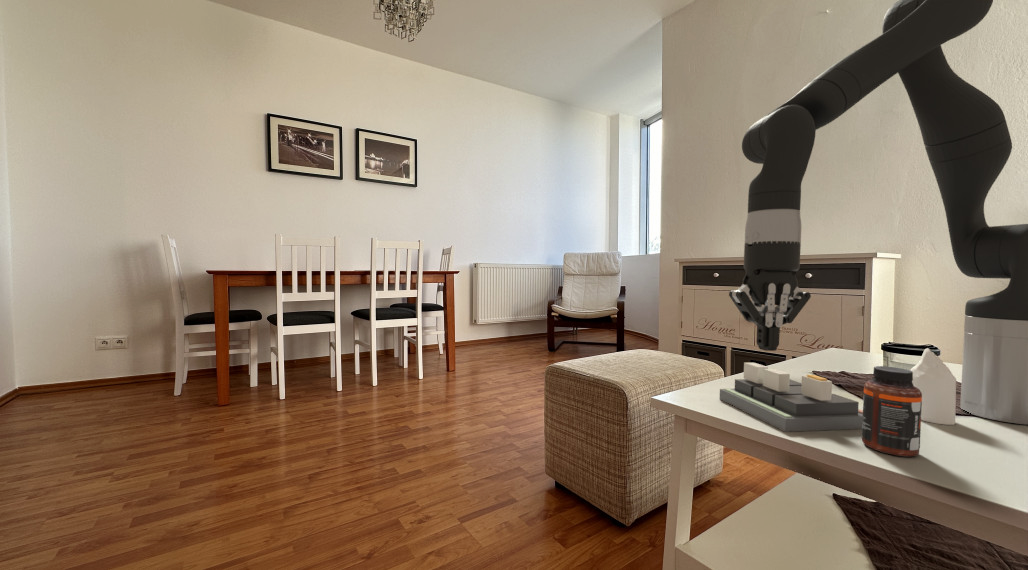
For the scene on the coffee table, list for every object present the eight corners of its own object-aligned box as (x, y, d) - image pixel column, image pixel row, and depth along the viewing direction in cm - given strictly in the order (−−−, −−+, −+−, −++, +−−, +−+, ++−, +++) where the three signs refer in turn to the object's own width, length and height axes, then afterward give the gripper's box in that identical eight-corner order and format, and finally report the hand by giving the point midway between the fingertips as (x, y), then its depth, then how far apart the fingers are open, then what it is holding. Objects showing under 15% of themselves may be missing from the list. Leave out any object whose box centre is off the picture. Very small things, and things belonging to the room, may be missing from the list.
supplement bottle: (932, 461, 53) (936, 375, 53) (879, 456, 54) (883, 372, 54) (898, 442, 59) (902, 365, 58) (851, 438, 60) (855, 362, 60)
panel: (794, 397, 80) (795, 377, 80) (876, 428, 64) (877, 403, 64) (719, 399, 78) (720, 378, 78) (785, 431, 62) (786, 406, 62)
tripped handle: (811, 393, 68) (812, 373, 68) (831, 400, 64) (832, 379, 64) (801, 393, 68) (801, 374, 68) (820, 400, 64) (820, 379, 64)
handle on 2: (773, 385, 73) (773, 368, 72) (789, 391, 69) (789, 373, 69) (762, 385, 72) (763, 368, 72) (778, 391, 69) (779, 374, 69)
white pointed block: (969, 353, 65) (927, 351, 66) (965, 426, 65) (924, 423, 67) (939, 346, 71) (901, 344, 72) (936, 414, 71) (898, 411, 73)
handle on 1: (753, 378, 77) (753, 362, 77) (767, 383, 74) (767, 367, 74) (743, 378, 77) (744, 362, 77) (757, 383, 74) (757, 367, 74)
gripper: (790, 244, 69) (785, 345, 69) (718, 241, 67) (714, 345, 67) (830, 240, 61) (825, 354, 62) (750, 237, 59) (745, 354, 60)
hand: (767, 349), depth 64 cm, fingers closed
